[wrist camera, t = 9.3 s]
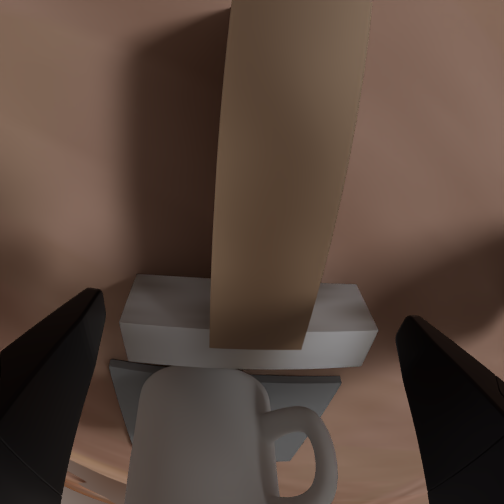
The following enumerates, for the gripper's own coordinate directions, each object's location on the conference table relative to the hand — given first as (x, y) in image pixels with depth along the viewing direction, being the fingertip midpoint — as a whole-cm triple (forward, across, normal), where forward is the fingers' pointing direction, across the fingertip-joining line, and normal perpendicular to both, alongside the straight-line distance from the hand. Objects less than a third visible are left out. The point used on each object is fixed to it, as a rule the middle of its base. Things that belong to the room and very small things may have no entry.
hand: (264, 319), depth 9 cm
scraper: (+6, 0, -2) cm, 6 cm away
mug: (+6, 0, +12) cm, 13 cm away
